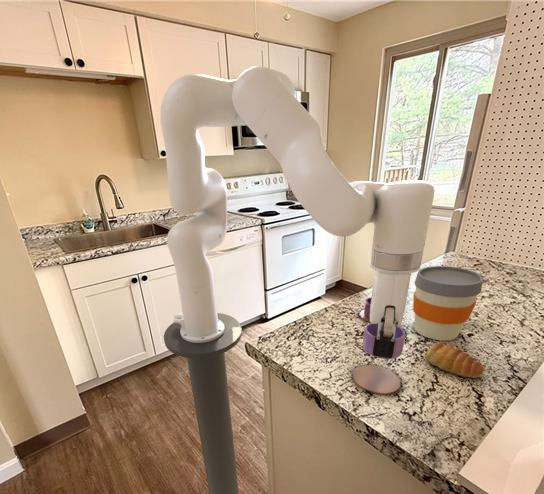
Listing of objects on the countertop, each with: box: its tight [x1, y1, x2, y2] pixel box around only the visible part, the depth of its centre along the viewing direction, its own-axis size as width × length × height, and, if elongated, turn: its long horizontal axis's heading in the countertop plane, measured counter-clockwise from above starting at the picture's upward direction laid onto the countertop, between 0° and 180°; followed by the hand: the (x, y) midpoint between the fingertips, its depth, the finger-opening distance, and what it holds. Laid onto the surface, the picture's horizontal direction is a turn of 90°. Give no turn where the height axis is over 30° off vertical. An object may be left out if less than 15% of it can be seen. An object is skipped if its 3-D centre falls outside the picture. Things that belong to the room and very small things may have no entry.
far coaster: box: [359, 308, 371, 324], centre depth 86 cm, size 9×9×1 cm
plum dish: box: [363, 296, 372, 319], centre depth 85 cm, size 7×7×4 cm
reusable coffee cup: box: [412, 265, 484, 341], centre depth 74 cm, size 13×13×15 cm
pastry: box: [425, 341, 485, 379], centre depth 64 cm, size 9×7×4 cm
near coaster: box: [352, 364, 402, 395], centre depth 64 cm, size 9×9×1 cm
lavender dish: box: [362, 322, 406, 360], centre depth 60 cm, size 7×7×4 cm
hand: (382, 344), depth 60 cm, fingers closed on lavender dish, 6 cm apart
